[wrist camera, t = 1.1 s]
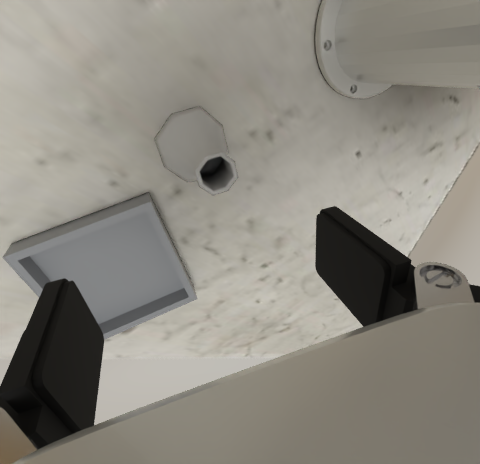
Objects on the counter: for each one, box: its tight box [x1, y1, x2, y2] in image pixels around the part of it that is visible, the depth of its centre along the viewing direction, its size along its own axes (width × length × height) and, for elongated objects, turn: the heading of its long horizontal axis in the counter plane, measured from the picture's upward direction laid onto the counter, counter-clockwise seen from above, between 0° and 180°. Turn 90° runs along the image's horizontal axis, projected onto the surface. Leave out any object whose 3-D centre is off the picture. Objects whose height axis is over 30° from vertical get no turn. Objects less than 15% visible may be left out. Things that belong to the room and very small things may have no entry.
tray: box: [3, 193, 197, 339], centre depth 32 cm, size 14×14×3 cm
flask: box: [154, 106, 238, 195], centre depth 26 cm, size 7×7×10 cm
